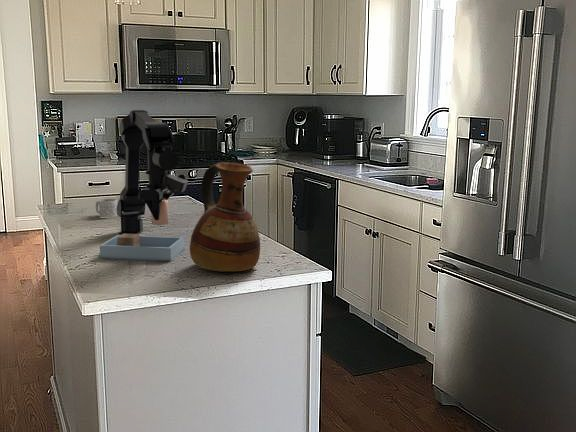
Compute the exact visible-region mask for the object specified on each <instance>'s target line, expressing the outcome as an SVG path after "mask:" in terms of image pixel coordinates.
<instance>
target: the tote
mask: <svg viewBox="0 0 576 432" xmlns="http://www.w3.org/2000/svg"><path fill="white" fill-rule="evenodd" d="M120 235H121V234H116V235H115V236H112V238H110V239H108V240H107V241H105V242H102V243H101V244H99V257H100V259H101V260H123V261H124V260H127V261H146V262H147V261H152V262H172V261H173V260H175V258H177V257H178V256H179V255H180V254H181V253H183V251H184V250H185V238H184V236H183V237H182V236H181V237H180V236H160V235H159V236H157V235H156V236H154V235H152V236H151V235H139V240H140V246H118V240H117V237H119V236H120Z"/></svg>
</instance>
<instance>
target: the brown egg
mask: <svg viewBox="0 0 576 432" xmlns="http://www.w3.org/2000/svg"><path fill="white" fill-rule="evenodd" d="M150 213H151V212H150ZM169 220H170V219H169V199H168V200H167V199H164V200H163V201H162V202H161V206H160V215H159V220H155V219H154V217H153V215H152V213H151V225H154V226H164V225H165V226H166V225H169V223H170V222H169Z"/></svg>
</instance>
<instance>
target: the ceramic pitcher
mask: <svg viewBox="0 0 576 432" xmlns="http://www.w3.org/2000/svg"><path fill="white" fill-rule="evenodd" d="M253 169H254V168H252V167H251V166H249V165H246V164H244V163H240V162H232V161H231V162H229V161H227V162H225V161H220V162H218V163H214V164H212V165H211V166H209V167H208V168H207V169H206V170H205V172H204V173H203V177H202V180H201V184H200V194H201V198H202V203H203V211H204V212H203V214H202V215H201V216H200V218H199V220H198V221H197V223H196V224H195V226H194V228H193V231H192V233H191V237H190V241H189V242H190V243H189V255H190V258H191V260H192V261H193V263H194V264H195V265H196V266H198V267H199V268H202V269H204V270H207V271H215V272H220V273H222V272H225V273H226V272H228V273H229V272H231V273H232V272H234V273H235V272H242V271H246V270H251V269H253V268H254V267H255V266H256V265H257V264H258V262H259V260H260V254H261V237H260V234H259V228H258V226H257V223H256V220H255V219H254V217H253V216H252V214H251V213H250V212H249V211H248V210H247V209H246V208H245V206H244V203H243V193H244V187H245V183H246V180H247V178H248V177H249V175H251V173H253V172H254V170H253ZM218 173H219V175H220V177H221V178H220V179H221V193H220V196H219V199H218V201H217V203H215V200H214V195H213V183H214V180H215V178H216V176H217V174H218Z"/></svg>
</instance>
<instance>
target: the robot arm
mask: <svg viewBox="0 0 576 432" xmlns="http://www.w3.org/2000/svg"><path fill="white" fill-rule="evenodd" d="M118 128H119V134H120V138H121V139H122V141H123V143H124V145H125V170H124V171H125V172H124V173H125V175H124V177H125V178H124V179H125V182H124V184H125V185H124V187H123V189H121V191H120V193H119V199H118V201H117V209H116V210H117V217H120V231H119V233H118V235H122V234H139V235H140V233H141V232H144V227H143V226H144V225H143V223H144V222H143V221H144V220H143V218H142V216H145V213H146V206H147V208H148V209H149V211H150V213H152V215H153V217H154V219H155V220H159V215H160V206H161V202H162V201H163V200H164V199H167V200H168V201H169V199H170V198H171V197H172V196H173V195H174V194H175V192H177V193H180V194H181V193H183V192H185V191H186V189H187V186H188V185H189V180H188V179H187V175H186V174H184V173H180V174H179V175H178V176H177V175H174V174H172V171H173V170H175V169H176V168H177V166H178V164H179V157H178V155H177V153H176V152H174V151H173V150H172V148H175V146H176V145H175V143H176V141H175V138H174V134H173V132H172V130H171V127H169V125H168V124H167V123H165V122H160V121H156V120H155V119H154V118H153V117H151V116H150V115H149V114H148V111H147V110H145V109H133V110H130V111H129V114H128V115H126V116H125V117H123V118H122V119H121V121H120V122H119V127H118ZM144 144H145V146H146V149H147V170H146V171H145V174H146V175H148V183H147V184H146V187H143V188H141V190H140V168H141V165H140V164H141V163H140V162H141V160H140V159H141V148H142V146H143V145H144ZM171 190H172V191H173V192H172V191H171Z"/></svg>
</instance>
